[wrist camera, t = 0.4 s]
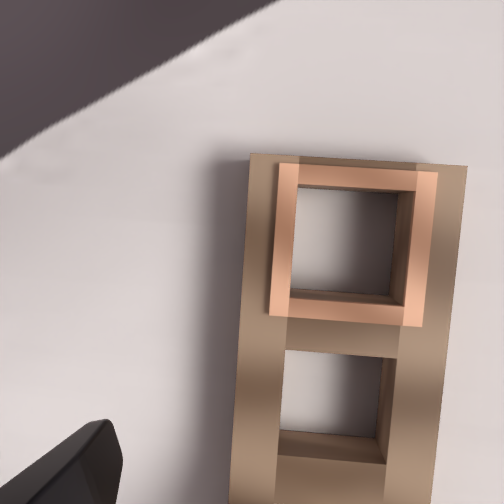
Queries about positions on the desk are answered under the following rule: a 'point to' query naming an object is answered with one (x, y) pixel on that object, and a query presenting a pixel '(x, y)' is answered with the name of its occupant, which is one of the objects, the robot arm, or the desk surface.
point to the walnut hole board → (345, 336)
